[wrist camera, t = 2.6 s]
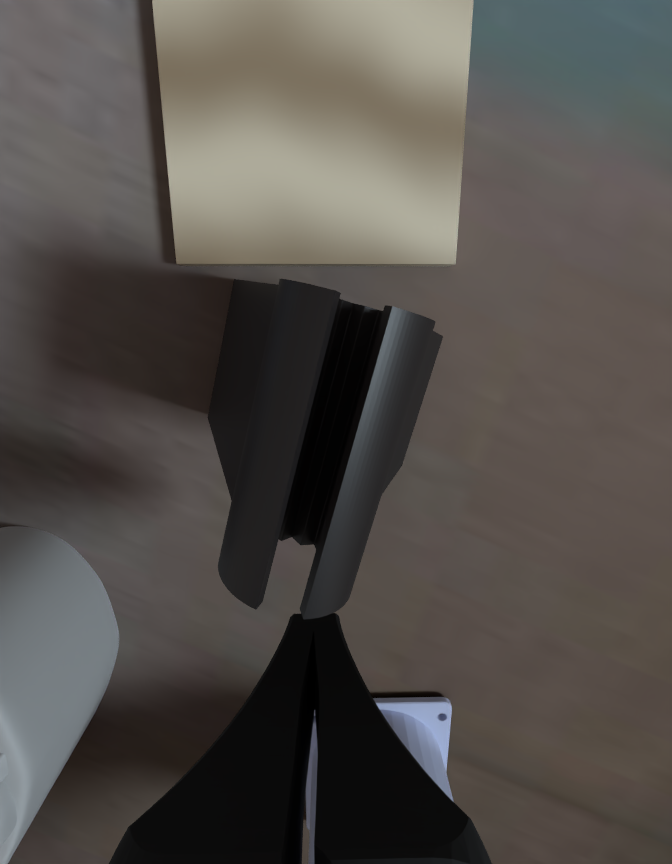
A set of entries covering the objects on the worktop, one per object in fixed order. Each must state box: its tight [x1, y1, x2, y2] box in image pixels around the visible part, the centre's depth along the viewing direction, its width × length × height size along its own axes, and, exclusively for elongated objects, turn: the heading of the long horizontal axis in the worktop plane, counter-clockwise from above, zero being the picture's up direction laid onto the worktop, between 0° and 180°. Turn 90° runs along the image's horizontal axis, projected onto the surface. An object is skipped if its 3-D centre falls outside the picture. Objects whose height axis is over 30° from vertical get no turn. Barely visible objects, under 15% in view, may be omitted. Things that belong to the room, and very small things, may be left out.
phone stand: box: [208, 279, 443, 619], centre depth 13 cm, size 9×6×12 cm, turn 75°
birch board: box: [152, 0, 473, 266], centre depth 16 cm, size 11×11×1 cm
